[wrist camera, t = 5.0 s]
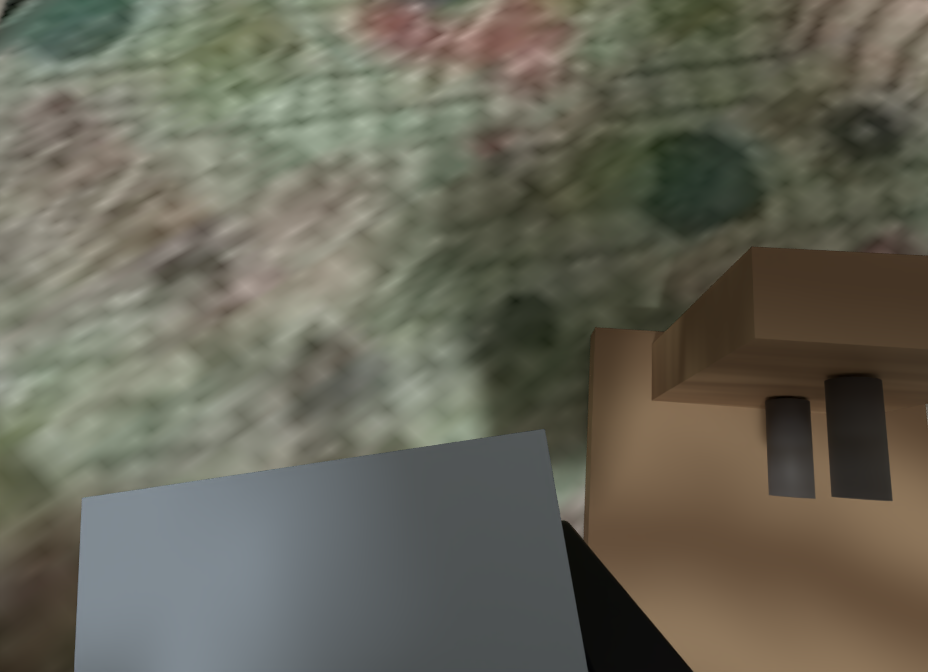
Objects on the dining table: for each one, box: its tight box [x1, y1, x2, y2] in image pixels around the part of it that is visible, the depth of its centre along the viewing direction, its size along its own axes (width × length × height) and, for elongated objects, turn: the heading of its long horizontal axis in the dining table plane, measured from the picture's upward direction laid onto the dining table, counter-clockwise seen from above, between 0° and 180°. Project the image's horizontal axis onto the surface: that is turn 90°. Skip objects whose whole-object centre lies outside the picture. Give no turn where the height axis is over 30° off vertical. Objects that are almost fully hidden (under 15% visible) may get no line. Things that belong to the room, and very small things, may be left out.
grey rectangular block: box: [74, 429, 588, 672], centre depth 10 cm, size 5×4×11 cm
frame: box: [584, 247, 928, 672], centre depth 15 cm, size 16×11×10 cm
